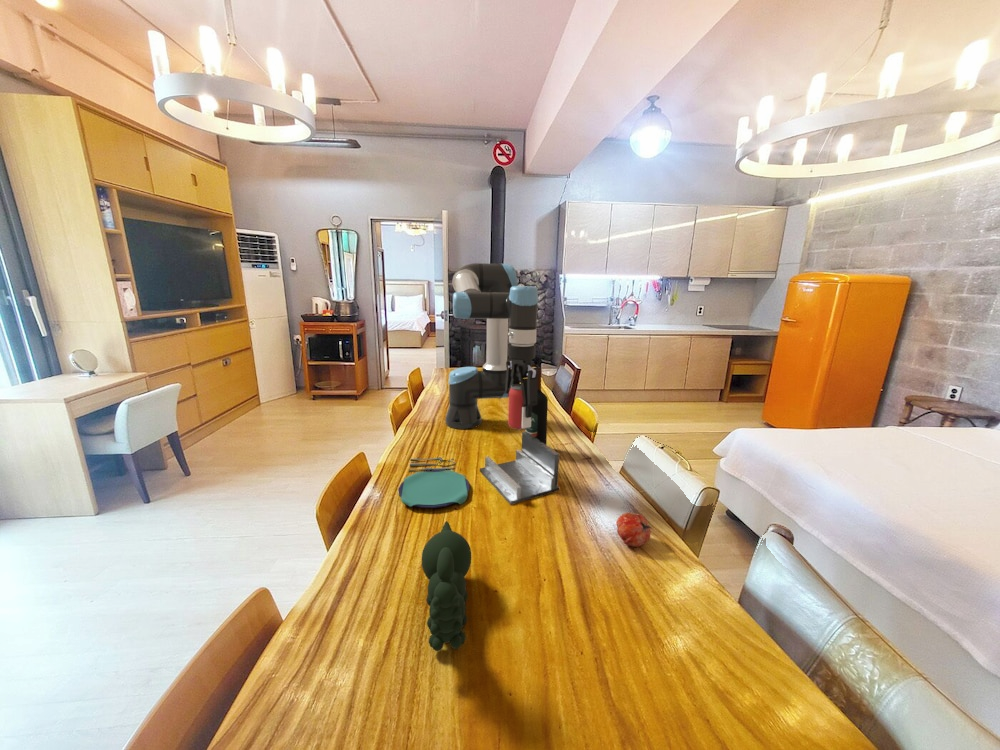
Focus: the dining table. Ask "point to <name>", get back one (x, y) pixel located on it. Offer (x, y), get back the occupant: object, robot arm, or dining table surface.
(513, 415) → the beer can
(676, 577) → the dining table surface
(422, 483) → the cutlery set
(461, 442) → the dining table surface
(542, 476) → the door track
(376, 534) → the dining table surface
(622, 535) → the pomegranate
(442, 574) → the toy figurine
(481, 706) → the dining table surface
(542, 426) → the wine bottle
